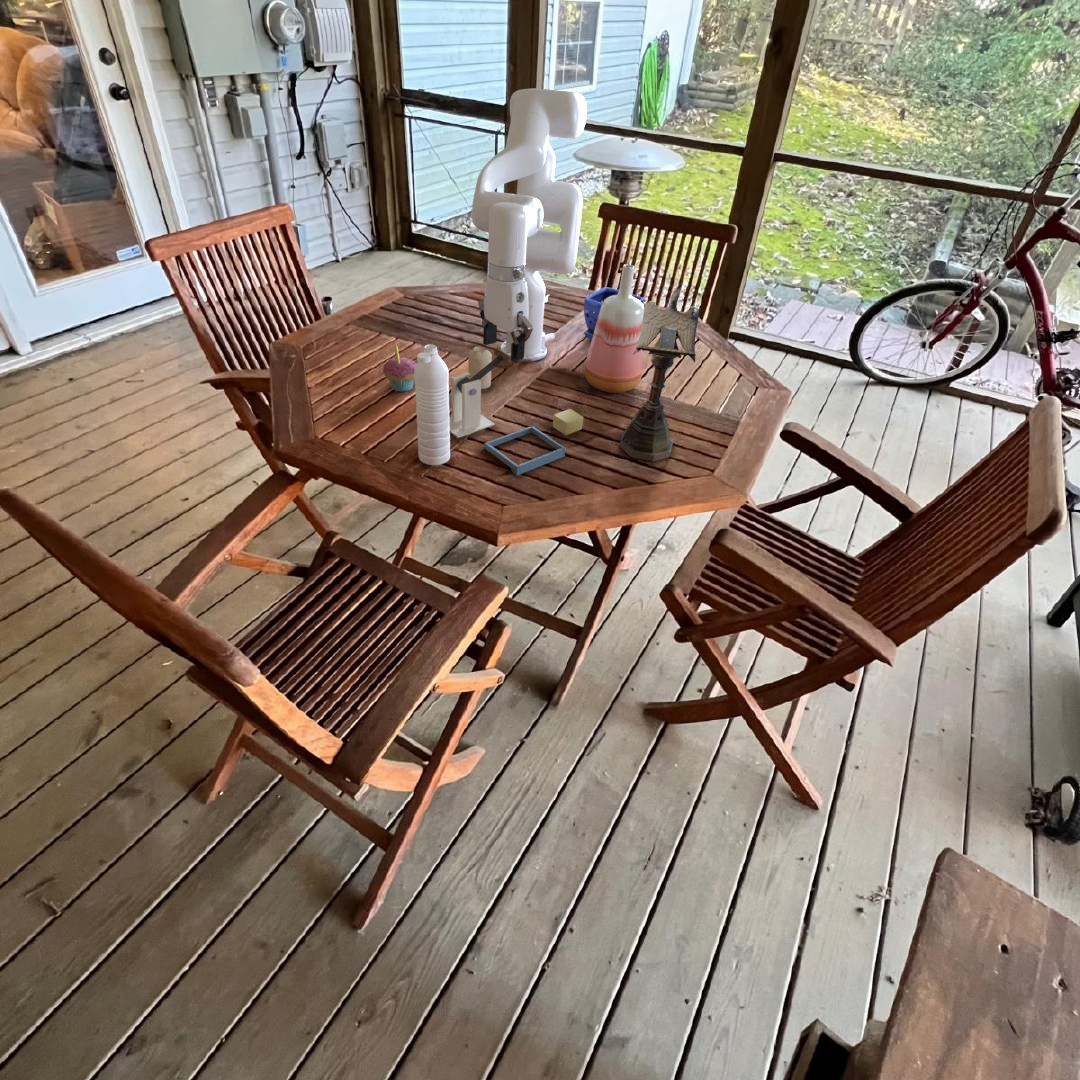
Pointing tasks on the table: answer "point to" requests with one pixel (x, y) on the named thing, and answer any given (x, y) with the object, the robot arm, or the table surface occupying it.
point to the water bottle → (432, 407)
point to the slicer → (466, 407)
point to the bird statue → (659, 376)
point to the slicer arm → (487, 368)
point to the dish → (532, 463)
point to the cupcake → (400, 372)
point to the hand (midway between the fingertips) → (503, 351)
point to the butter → (567, 421)
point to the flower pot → (598, 307)
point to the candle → (480, 364)
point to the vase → (617, 341)
